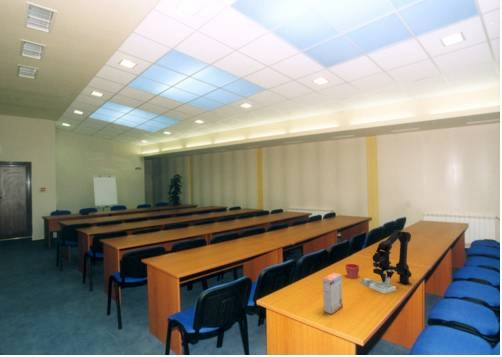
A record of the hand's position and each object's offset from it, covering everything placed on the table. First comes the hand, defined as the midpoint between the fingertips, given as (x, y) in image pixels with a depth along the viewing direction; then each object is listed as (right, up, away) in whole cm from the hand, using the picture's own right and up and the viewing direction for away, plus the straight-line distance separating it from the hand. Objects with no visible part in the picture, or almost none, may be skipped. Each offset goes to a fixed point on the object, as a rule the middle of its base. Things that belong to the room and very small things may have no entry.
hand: (386, 281), depth 195 cm
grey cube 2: (-10, -6, +9) cm, 14 cm away
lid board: (-6, -6, +13) cm, 16 cm away
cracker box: (-47, -7, -28) cm, 55 cm away
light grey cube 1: (0, -1, 0) cm, 1 cm away
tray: (-2, -6, 0) cm, 6 cm away
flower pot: (-14, -7, +27) cm, 31 cm away
